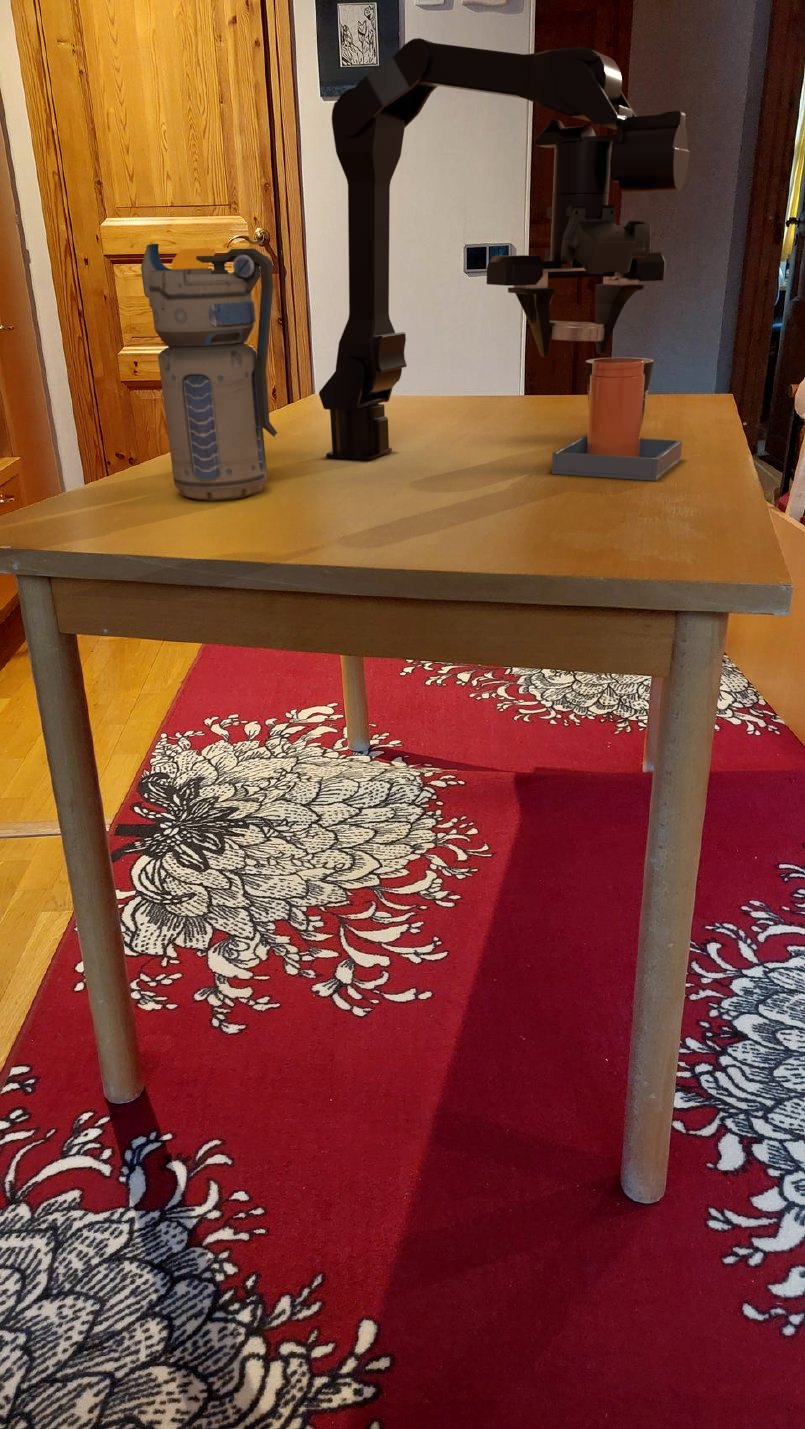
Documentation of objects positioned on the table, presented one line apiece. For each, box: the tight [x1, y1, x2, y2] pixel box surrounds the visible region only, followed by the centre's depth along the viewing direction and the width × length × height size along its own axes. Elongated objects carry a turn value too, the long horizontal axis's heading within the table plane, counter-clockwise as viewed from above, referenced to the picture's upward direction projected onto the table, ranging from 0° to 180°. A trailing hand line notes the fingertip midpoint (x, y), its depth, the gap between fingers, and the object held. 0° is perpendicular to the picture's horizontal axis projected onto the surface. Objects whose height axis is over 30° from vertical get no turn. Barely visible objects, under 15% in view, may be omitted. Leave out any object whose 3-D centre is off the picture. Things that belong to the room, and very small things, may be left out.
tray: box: [551, 435, 683, 482], centre depth 114 cm, size 12×12×2 cm
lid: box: [550, 320, 605, 342], centre depth 108 cm, size 7×7×2 cm
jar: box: [586, 357, 645, 457], centre depth 112 cm, size 6×6×12 cm
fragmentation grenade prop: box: [140, 243, 278, 502], centre depth 103 cm, size 10×13×25 cm
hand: (572, 354), depth 108 cm, fingers closed on lid, 6 cm apart
